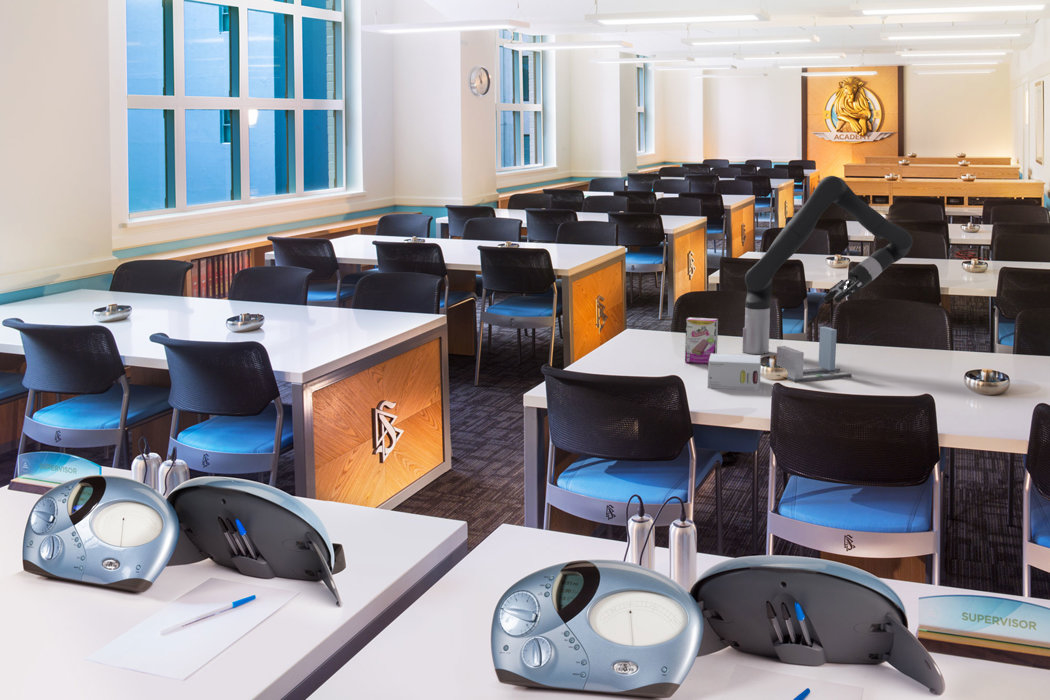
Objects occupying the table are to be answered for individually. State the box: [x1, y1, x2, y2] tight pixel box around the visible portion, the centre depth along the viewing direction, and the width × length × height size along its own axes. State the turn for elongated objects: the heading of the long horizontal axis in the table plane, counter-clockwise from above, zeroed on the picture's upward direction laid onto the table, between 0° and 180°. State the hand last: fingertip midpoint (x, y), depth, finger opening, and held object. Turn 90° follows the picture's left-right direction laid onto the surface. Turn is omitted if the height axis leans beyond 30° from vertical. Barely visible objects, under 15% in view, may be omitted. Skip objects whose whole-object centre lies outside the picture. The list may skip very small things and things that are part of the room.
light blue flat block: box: [818, 326, 839, 373], centre depth 350 cm, size 2×10×14 cm, turn 17°
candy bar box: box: [684, 316, 719, 365], centre depth 373 cm, size 11×5×16 cm, turn 71°
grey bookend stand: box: [776, 345, 853, 383], centre depth 350 cm, size 22×12×10 cm, turn 107°
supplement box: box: [707, 353, 762, 391], centre depth 340 cm, size 17×13×9 cm
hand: (830, 300), depth 357 cm, fingers open, 8 cm apart
